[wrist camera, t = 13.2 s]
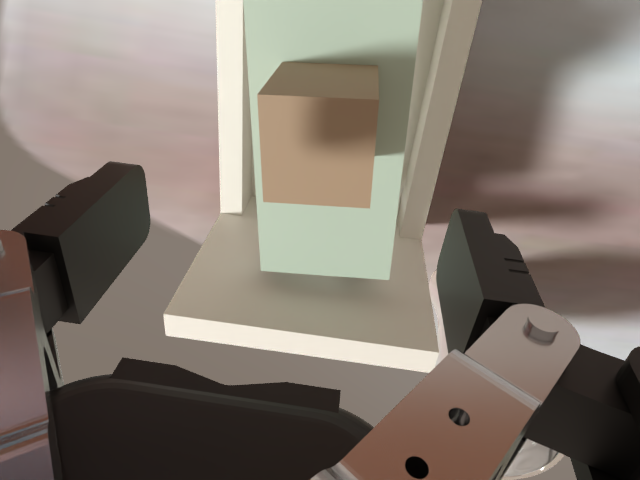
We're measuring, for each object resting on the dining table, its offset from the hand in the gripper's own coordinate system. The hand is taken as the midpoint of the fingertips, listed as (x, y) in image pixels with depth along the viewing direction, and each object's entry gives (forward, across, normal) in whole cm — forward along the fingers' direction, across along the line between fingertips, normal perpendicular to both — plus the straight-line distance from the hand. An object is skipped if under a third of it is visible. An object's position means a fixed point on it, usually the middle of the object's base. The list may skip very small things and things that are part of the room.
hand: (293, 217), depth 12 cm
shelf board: (+12, 0, 0) cm, 12 cm away
